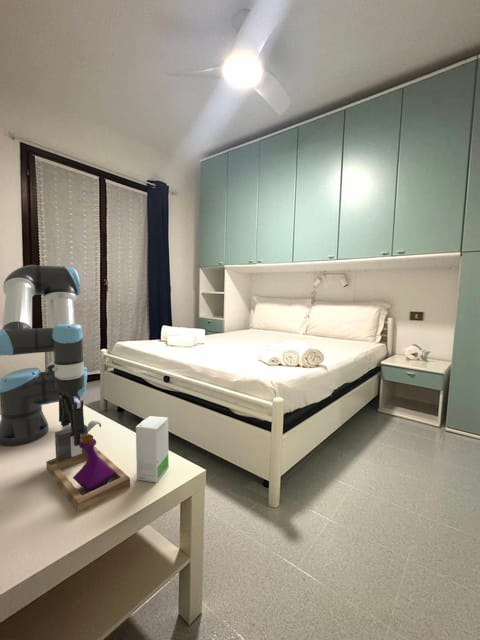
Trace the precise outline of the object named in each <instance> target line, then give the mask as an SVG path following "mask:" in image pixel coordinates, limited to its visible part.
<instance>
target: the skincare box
mask: <svg viewBox="0 0 480 640" xmlns="http://www.w3.org/2000/svg"><path fill="white" fill-rule="evenodd" d="M135 445H136V446H135V447H136V448H135V450H136V452H135V453H136V480H137V481H142V482H149V483H158V482H159V480H160V479H161V478H162V477H163V475H164V474H165V472H166V471H167V470H168V469H169V464H170V463H169V461H170V460H169V459H170V457H169V417H165V416H153V415H149V416H147V417H146V418H145V419H143V420H141V422H140V423H139V424H137V425H136V426H135Z"/></svg>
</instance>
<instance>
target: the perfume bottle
mask: <svg viewBox="0 0 480 640" xmlns="http://www.w3.org/2000/svg"><path fill="white" fill-rule="evenodd" d="M97 425H98V426H99V427H100V428H101V427H102V424H101V422H100V421H97V420H91V421H89V422H88V425H86V426H87V434H85V435H82V436H81V440H82V441H81V442H80V444H79V446H80V448H82V449H85V450H86V452H87V455H88V459H87V460H86V463H85V464H84V465H83V466H82V467H81V469H79V471H78V472H76V473H75V474H74V476H73V477H72V478H73V480H74V481H76V483H78V485H79V486H81V487H82V488H83V489H84V490H85V491H86V492H88V493H89V492H91V491H93V490H95V489H97V488H100V487H102V486H104V485H106V484H108V483H110V481H111V479H113V477H112V476H113V475H114V474H115V472H114V471H113V470H112V469H111V468H110V467H108V466H107V465H106V464H105V463H104V462H103V461H102V460H101V459H100V458H99V457H98V455H97V454H96V452H95V450H94V447H96V445H97V441H96V439H94V436H93V435H92V434H91V433H89V432H90V431H91V430H92V429H93V428H95V426H97Z"/></svg>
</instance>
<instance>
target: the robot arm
mask: <svg viewBox="0 0 480 640" xmlns="http://www.w3.org/2000/svg"><path fill="white" fill-rule="evenodd" d="M81 289H82V288H81V279H80V277H79V273H78V271H77V270H76V268H74V267H72V266H71V267H70V266H64V265H62V266H61V265H60V266H56V265H40V264H37V265H36V264H29V265H28V264H27V265H24V266H21V267H19V268H17V269H15V270H13V271H12V272H11V273H9V274H8V275H7V277H6V278H5V279H4V281H3V285H2V290H3V293H4V294H5V300H4V308H3V317H2V326H1V329H0V356H16V355H17V356H19V355H28V354H39V353H41V354H42V353H51V354H50V355H51V357H50V358H51V361H50V363H49V364H48V365H46V368H47V369H46V370H47V371H41V369H40V368H39V367H28V368H22V369H17V370H14V371H11V372H9V373H6V374H4V375H3V376H2V377H1V378H0V416H1V417H0V418H1V419H0V446H5V447H6V446H7V447H10V446H11V447H12V446H13V447H14V446H18V445H19V446H20V445H24V444H28V443H32V442H35V441H37V440H39V439H41V438H42V437H44V436H46V435H47V433H49V422H48V420H47V418H46V416H45V414H44V412H43V409H42V408H43V406H42V405H46V404H52V403H58V422H60V426H61V430H64V429H67V428H71V431H72V434H70V435H69V436H70V437H71V456H72V457H73V456H76V455H79V454H82V448H80V446H79V444H80V442H81V441H82V440H81V434H83V433H85V429H84V424H85V420H84V419H85V417H84V400H81V398H82V397H84V396H85V393H86V389H87V381H88V368H87V367H86V366H84V357H83V355H84V347H83V346H84V345H83V342H84V341H83V340H84V339H83V338H84V334H83V328H82V325H81V324H79V323H76V320H75V318H76V317H75V308H74V307H75V306H74V302H75V301H77V299H78V296H80V295H81V293H82V292H81V291H82V290H81ZM35 295H39V296H43V300H44V301H46V303H48V315H49V316H48V317H49V327H38V328H36V327H35V328H33V297H34V296H35Z"/></svg>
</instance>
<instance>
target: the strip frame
mask: <svg viewBox="0 0 480 640" xmlns="http://www.w3.org/2000/svg"><path fill="white" fill-rule="evenodd" d="M87 426H88V425H86V424H85V423H84V429H85V433H83V434H81V436H82V435H85V434H87ZM70 434H72V431H71V428H67V429H64V430H62V429H61V430H58V431H55V432H54V441H55V442H54V443H55V458H52V459H49V460H47V461H45V462H46V470H47V472H48V473H49V475H50V477H52V479H53V481H55V483H56V484H57V486H58V487H59V488H60V489H61V491H62V492H63V493H64V495H65V497H66V499H68V501H69V502H70V503H71V504H72V506H73V507H74V509H75V511H77V512H78V513H82V512H83V511H85V510H87V509H89V508H91V507H93V506H95V505H97V504H99V503H101V502H104V501H105V500H107V499H109V498H111V497H113V496H115V495H118V494H119V493H121V492H123V491H125V490H127V489H129V488H131V478H130V477H129V475H128V474H126V473H125V472H124V471H123V470H122V469H121V468H119V467H118V465H116V464H115V463H114V462H113V461H112V460H110V459H109V458H108V457H107V456H106V455H105V454H103V452H101V451H100V450H99V449H98V448H97V447H96V446H94V450H95V452H96V454H97V455H98V457H99V458H100V459H101V460H102V461H103V462H104V463H105V464H106V465H107V466H108V467H110V468H111V469H112V470H113V471H114V472H115V474H114V475H113V476H112V479H113V481H109V482H108V483H107V484H106V485H104V486H102V487H100V488H97V489H95V490H93V491H91V492H89V491H88V492H87V493H84V494H83V495H82V494H81V493H80V492H79V490H78V489H77V488H76V487H75V486H74V484H73V483H72V482H71V481H70V479H69V477H67V476H66V474H65V473H64V472H63V469H67V468H69V467H71V466H73V465H75V464H78V463H81V462H84V461H87V460H88V455H87V452H86V450H85V449H82V454H79V455H76V456H73V457H72V456H71V437H70V436H69V435H70Z"/></svg>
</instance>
